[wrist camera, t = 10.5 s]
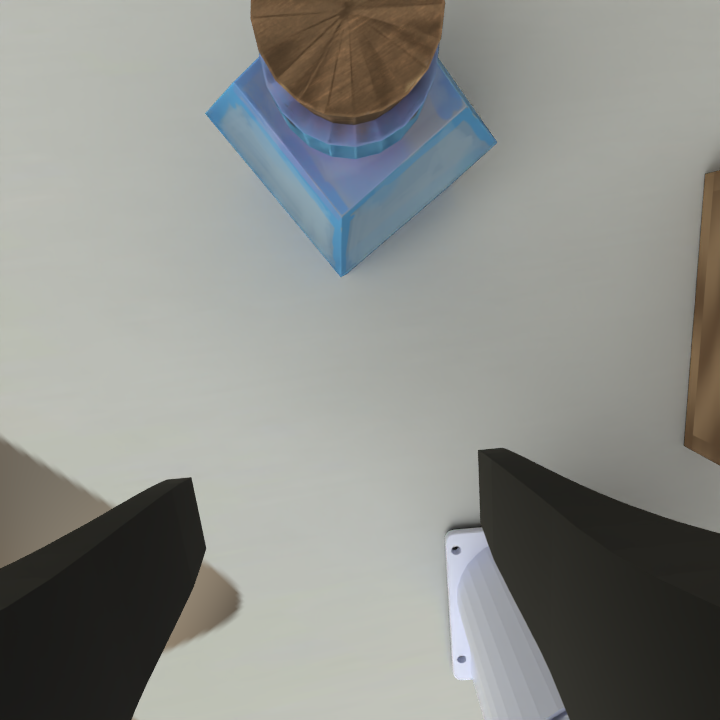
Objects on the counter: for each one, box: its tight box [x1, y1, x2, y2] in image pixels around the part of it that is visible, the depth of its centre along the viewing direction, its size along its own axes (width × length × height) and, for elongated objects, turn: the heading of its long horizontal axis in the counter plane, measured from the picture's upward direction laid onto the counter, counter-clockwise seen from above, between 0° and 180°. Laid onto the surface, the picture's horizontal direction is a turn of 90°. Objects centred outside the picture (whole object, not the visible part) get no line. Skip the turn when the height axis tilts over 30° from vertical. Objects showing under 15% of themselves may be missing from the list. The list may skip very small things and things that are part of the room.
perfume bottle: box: [205, 0, 497, 277], centre depth 13 cm, size 6×6×12 cm
